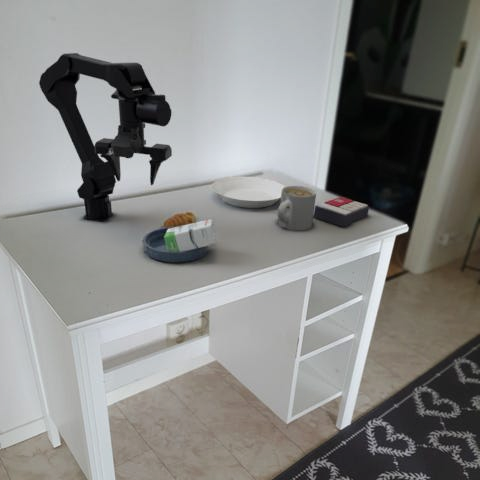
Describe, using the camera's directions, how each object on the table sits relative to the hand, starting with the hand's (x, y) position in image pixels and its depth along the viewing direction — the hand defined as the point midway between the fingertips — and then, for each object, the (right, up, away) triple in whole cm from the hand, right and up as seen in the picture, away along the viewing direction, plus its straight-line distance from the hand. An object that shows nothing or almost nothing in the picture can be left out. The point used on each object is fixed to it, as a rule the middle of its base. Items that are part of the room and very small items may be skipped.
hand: (135, 182), depth 129 cm
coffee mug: (+43, -8, +16) cm, 46 cm away
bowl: (+31, +4, +34) cm, 46 cm away
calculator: (+59, -4, +24) cm, 64 cm away
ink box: (+10, -17, -7) cm, 21 cm away
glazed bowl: (+11, -18, -3) cm, 22 cm away
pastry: (+11, -10, +10) cm, 18 cm away
